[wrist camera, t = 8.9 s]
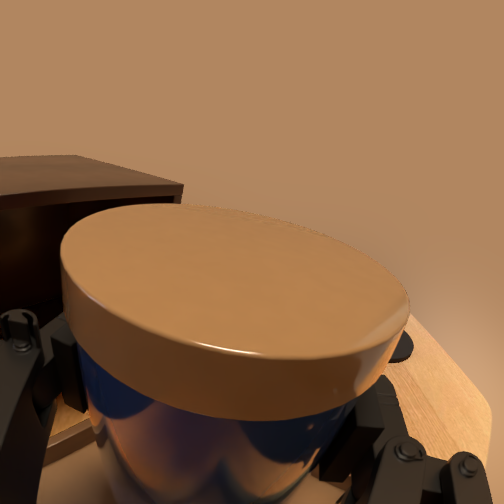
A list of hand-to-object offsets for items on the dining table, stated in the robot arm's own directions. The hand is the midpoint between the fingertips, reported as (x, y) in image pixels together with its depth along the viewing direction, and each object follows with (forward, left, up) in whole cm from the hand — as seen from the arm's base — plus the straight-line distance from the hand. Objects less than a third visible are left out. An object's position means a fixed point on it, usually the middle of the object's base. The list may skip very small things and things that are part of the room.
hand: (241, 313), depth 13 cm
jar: (-5, 0, -7) cm, 8 cm away
